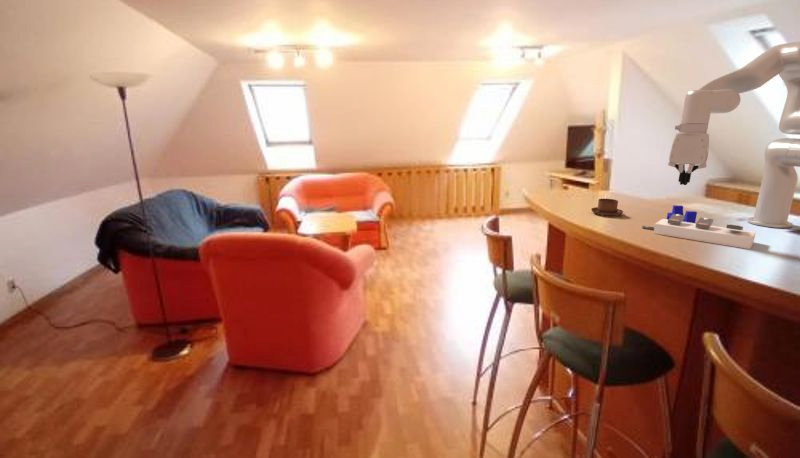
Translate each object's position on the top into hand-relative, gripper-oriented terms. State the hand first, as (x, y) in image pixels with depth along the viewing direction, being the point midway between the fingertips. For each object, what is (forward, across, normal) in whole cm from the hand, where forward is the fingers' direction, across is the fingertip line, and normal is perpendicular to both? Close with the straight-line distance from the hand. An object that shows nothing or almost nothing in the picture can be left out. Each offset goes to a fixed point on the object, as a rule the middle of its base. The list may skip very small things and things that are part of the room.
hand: (683, 184), depth 139 cm
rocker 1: (+12, +8, -2) cm, 15 cm away
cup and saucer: (+17, -27, +13) cm, 35 cm away
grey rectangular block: (+12, +16, -2) cm, 20 cm away
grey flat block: (+12, 0, -2) cm, 12 cm away
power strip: (+17, +6, -2) cm, 18 cm away
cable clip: (+17, -2, +16) cm, 23 cm away
